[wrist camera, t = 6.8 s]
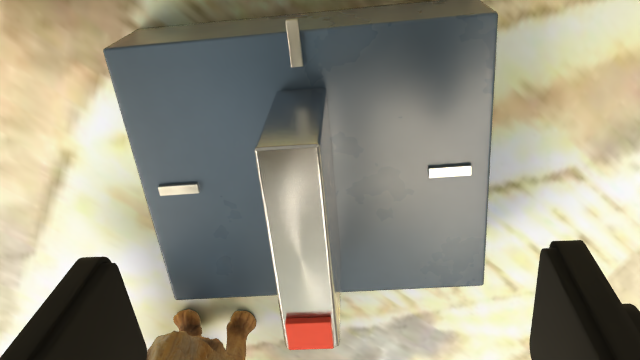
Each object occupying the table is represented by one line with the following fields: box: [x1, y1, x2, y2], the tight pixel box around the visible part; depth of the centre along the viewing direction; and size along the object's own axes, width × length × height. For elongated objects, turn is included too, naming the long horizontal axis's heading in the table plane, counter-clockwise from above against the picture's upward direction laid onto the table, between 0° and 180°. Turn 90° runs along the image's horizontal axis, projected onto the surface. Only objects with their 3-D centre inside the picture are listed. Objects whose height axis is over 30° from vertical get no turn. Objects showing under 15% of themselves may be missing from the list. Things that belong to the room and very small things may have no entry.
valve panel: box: [103, 0, 498, 300], centre depth 19 cm, size 12×11×3 cm
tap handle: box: [254, 87, 341, 350], centre depth 16 cm, size 6×2×5 cm, turn 5°
